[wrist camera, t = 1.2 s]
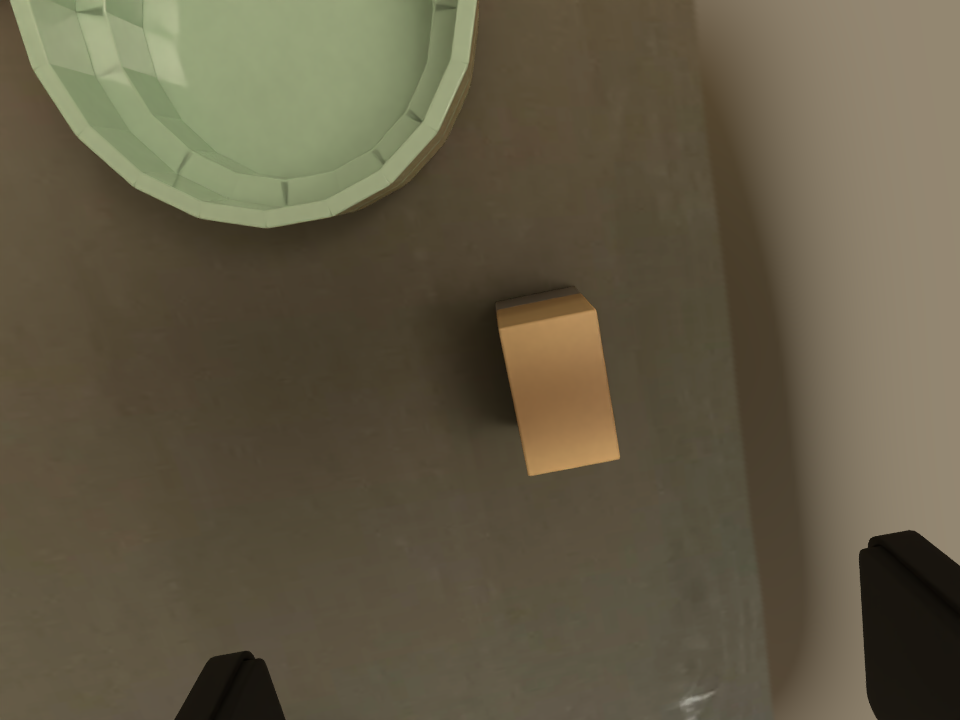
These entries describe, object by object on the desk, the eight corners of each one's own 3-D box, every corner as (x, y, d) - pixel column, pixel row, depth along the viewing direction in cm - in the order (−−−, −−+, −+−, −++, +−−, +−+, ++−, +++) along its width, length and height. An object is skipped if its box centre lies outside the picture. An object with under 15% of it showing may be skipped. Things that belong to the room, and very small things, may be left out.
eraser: (494, 301, 24) (498, 328, 19) (575, 285, 24) (596, 308, 19) (519, 426, 25) (528, 477, 21) (596, 411, 25) (620, 459, 21)
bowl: (270, -284, 19) (200, -441, 14) (551, 28, 21) (573, -17, 17) (39, 34, 21) (-89, -9, 17) (316, 286, 24) (274, 312, 19)
